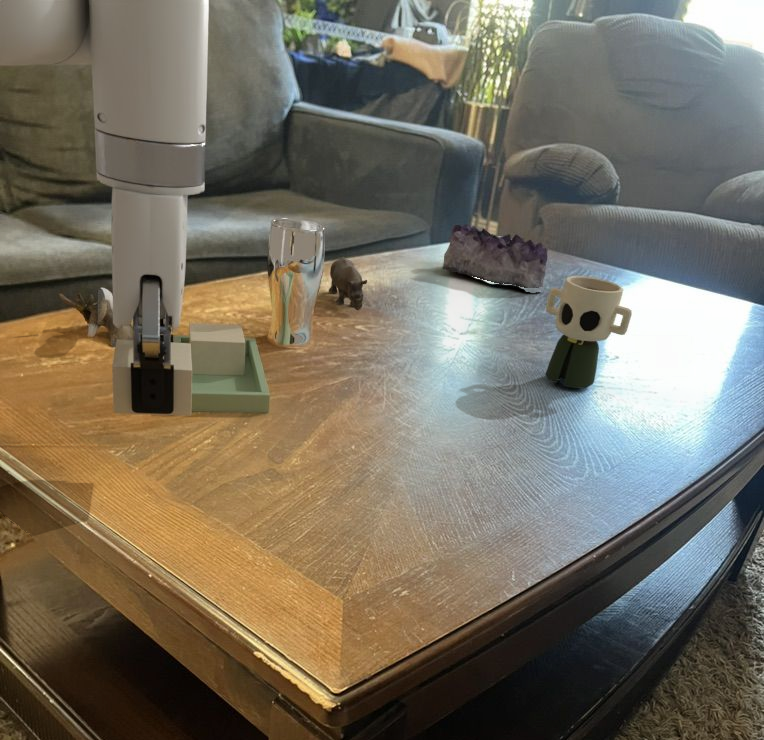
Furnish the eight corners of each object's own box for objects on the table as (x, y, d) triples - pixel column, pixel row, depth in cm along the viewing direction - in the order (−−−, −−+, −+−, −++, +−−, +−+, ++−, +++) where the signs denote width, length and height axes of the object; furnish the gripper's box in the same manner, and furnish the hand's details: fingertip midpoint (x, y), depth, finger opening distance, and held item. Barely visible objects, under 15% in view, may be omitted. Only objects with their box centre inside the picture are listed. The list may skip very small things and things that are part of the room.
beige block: (190, 374, 88) (190, 340, 86) (189, 355, 93) (189, 322, 90) (244, 376, 89) (245, 342, 87) (240, 356, 94) (241, 324, 92)
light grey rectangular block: (113, 413, 62) (112, 366, 60) (118, 383, 67) (116, 338, 65) (191, 416, 64) (192, 370, 61) (189, 386, 68) (190, 343, 66)
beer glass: (294, 330, 106) (302, 215, 98) (328, 347, 102) (338, 228, 94) (253, 338, 101) (257, 218, 94) (286, 355, 97) (293, 232, 90)
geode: (552, 286, 145) (565, 233, 139) (531, 307, 137) (544, 251, 131) (454, 258, 152) (462, 205, 145) (428, 276, 143) (435, 221, 137)
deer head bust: (46, 325, 93) (86, 334, 88) (67, 269, 93) (108, 275, 88) (100, 350, 99) (140, 359, 94) (119, 298, 99) (161, 304, 94)
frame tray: (269, 416, 82) (270, 395, 81) (174, 414, 79) (174, 392, 78) (254, 356, 96) (255, 338, 95) (173, 354, 93) (173, 334, 92)
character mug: (519, 376, 101) (542, 276, 95) (541, 364, 106) (565, 268, 100) (597, 403, 96) (627, 300, 90) (617, 389, 102) (646, 290, 95)
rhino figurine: (344, 318, 113) (348, 277, 110) (324, 290, 124) (327, 252, 121) (371, 319, 114) (376, 278, 111) (349, 291, 125) (352, 253, 122)
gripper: (104, 139, 62) (112, 354, 71) (85, 179, 48) (98, 441, 57) (201, 150, 64) (196, 358, 73) (210, 192, 50) (203, 443, 59)
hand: (153, 392), depth 65 cm, fingers closed on light grey rectangular block, 6 cm apart
